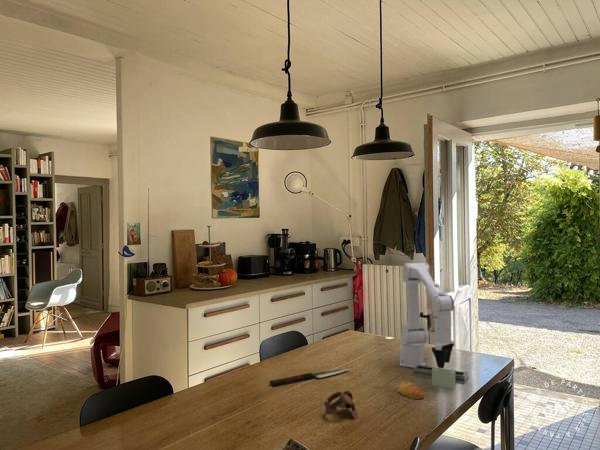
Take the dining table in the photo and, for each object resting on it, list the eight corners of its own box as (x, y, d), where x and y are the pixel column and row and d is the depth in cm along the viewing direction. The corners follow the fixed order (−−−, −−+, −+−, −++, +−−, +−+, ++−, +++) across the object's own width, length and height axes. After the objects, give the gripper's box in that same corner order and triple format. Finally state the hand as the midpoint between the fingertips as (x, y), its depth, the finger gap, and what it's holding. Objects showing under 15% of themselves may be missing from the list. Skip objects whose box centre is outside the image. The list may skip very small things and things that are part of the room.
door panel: (432, 385, 171) (431, 369, 171) (433, 383, 173) (433, 368, 173) (453, 389, 167) (453, 373, 167) (455, 387, 168) (455, 371, 168)
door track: (411, 375, 182) (411, 369, 182) (417, 369, 189) (417, 363, 189) (463, 384, 172) (463, 377, 172) (468, 378, 178) (468, 371, 178)
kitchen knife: (275, 383, 169) (269, 379, 173) (275, 389, 169) (269, 385, 173) (353, 368, 186) (346, 364, 191) (353, 373, 186) (346, 370, 191)
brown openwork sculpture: (355, 425, 139) (341, 402, 139) (330, 432, 143) (316, 410, 143) (365, 401, 149) (352, 380, 149) (342, 409, 154) (329, 388, 154)
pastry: (428, 398, 159) (428, 387, 159) (413, 402, 156) (413, 390, 156) (410, 389, 167) (410, 379, 167) (396, 393, 164) (395, 382, 164)
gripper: (449, 333, 161) (449, 372, 161) (458, 325, 174) (459, 361, 174) (429, 331, 165) (429, 368, 165) (439, 323, 177) (440, 358, 177)
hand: (443, 364), depth 170 cm, fingers open, 7 cm apart
